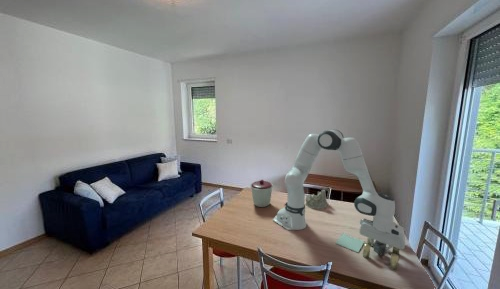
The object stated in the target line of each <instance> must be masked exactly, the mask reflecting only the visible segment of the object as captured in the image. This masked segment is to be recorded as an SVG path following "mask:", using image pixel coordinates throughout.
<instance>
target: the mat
mask: <svg viewBox="0 0 500 289" xmlns="http://www.w3.org/2000/svg"><path fill="white" fill-rule="evenodd" d="M364 243H365V241H364V240H361V239H359V238H357V237H356V238H355V237H354V236H350V235H349V234H346V233H342V234H341V236H339V238H338V239H337V241H335V245H338V246H341V247H343V248H345V249H348V250H350V251H352V252H355V253H357V254H358V253H359V252H360V250H361V249H362V247H363V246H364Z"/></svg>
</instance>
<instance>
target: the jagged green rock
mask: <svg viewBox="0 0 500 289" xmlns="http://www.w3.org/2000/svg"><path fill="white" fill-rule="evenodd" d="M305 202H306V203H304V204H305V207H308V208H311V209H315V210H324V209H327V206H328V201H327V196H326V190H325V189H321V191H317V195H315V193H313V194H309V195H305Z"/></svg>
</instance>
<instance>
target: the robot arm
mask: <svg viewBox="0 0 500 289" xmlns="http://www.w3.org/2000/svg"><path fill="white" fill-rule="evenodd" d="M301 144H302V145H301V146H300V148H299V150H298V153H297V155H296V156H295V160H294V163H293V165H292V166H291V169H290V170H289V171H288V172H287V173H286V175H285V178H284V185H285V187H286V191H287V202H285V203H284V204H283V208H280V209H279V210H278V211H277V213H276V215H275V216H274V217H273V222H274V223H276V224H277V223H278V225H279V226H281V227H282V226H283V227H282V228H284V229H285V230H287V231H295V230H296V231H300V230H303V229H305V228H306V227H307V221H306V216H305V213H306V205H305V204H306V203H305V202H306V195H305V190H304V182H305V181H306V179H307V178H308V176H309V173H310V171H311V169H312V167H313V165H314V163H315V161H316V159H317V157H318V156H319V153H320V151H321V149H323V150H327V151H338V153H339V156H340V158H341V163H342V166H343V167H344V170H345V171H346V172H348V173H350V174H353V175H355V176H356V177H357V178H358V181H359V183H360V186H361V188H362V194H361V195H359V196H357V197H356V198H355V200H354V202H353V206H354V208H355V210H356V211H357V212H359V213H360V214H361V215H364V216H365V215H366V216H370V217H372V220H371V219H367V218H362V219H360V220H359V223H360V226H359V227H360V228H359V234H360V235H361V236H362V237H363V236H364V237H367V238H368V237H369V240H370V242H371V246H370V247H374V243H375V241H376V240H377V241H380V242H382V243H385V244H387V245H388V246H386V248H385V251H386V253H389V252H390V249H393V247H396V248H399V249H400V250H401V251H402V250H404V249H406V235H405V233H404V227H403V226H401V225H399V224H397V223H396V222H394V216H395V214H396V212H395V211H396V203H395V201H396V200H395V199H394V197H393V196H392V195H390V194H389V193H386V192H379V191H378V189H377V188H376V185H375V184H374V180H373V178H372V175H371V174H370V171H369V169H368V167H367V166H368V165H367V164H366V160H365V157H364V154H363V151H362V149H361V148H362V147H361V146H360V144H359V142H358V140H357V139H356V138H355V137H352V136H351V137H344V134H343V133H342V132H341V131H340V130H338V129H328V130H324V131H322V132H321V133H320V134H317V133H310V134H308V135H307V136H306V138H305V140H304V141H303V143H301ZM373 239H374V242H373Z"/></svg>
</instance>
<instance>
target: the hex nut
mask: <svg viewBox="0 0 500 289" xmlns="http://www.w3.org/2000/svg"><path fill="white" fill-rule="evenodd" d="M374 242H375V243H374V246H373V252H375V253H376V254H377V255H383V256H385V254H386V253H387V252H386V251H385V248H386V247H387V245H388V244H385V243H382V242H380V241H377V240H374Z"/></svg>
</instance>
